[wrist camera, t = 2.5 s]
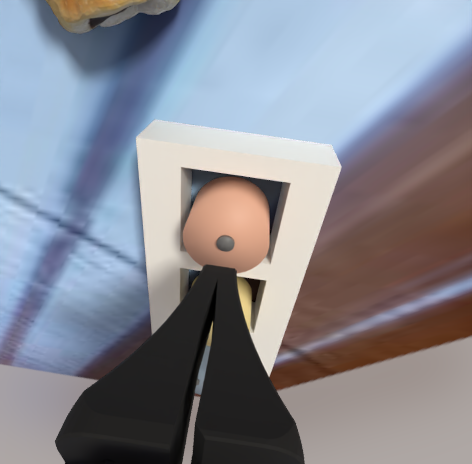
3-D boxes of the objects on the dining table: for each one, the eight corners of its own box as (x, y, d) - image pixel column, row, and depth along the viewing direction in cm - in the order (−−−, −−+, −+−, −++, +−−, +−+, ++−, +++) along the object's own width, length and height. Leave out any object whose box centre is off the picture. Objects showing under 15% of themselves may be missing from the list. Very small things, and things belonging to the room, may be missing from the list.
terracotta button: (262, 245, 19) (261, 281, 17) (193, 235, 19) (181, 270, 17) (276, 182, 17) (277, 214, 14) (195, 170, 17) (182, 200, 14)
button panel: (264, 360, 30) (264, 391, 28) (164, 345, 30) (155, 375, 28) (331, 144, 17) (341, 167, 15) (154, 119, 17) (135, 137, 15)
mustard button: (247, 316, 23) (244, 354, 21) (190, 307, 23) (180, 344, 21) (256, 274, 21) (254, 312, 18) (192, 265, 21) (181, 301, 18)
